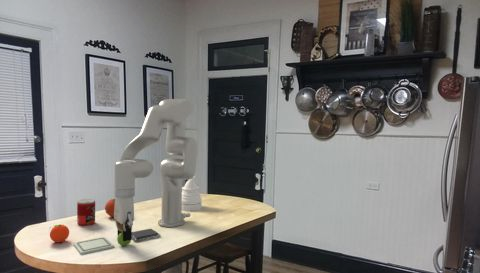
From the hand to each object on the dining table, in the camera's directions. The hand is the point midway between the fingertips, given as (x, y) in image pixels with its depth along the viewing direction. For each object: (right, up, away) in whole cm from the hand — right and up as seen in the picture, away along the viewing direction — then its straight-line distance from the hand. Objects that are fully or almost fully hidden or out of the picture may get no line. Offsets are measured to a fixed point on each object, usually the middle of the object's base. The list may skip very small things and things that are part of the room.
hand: (124, 237), depth 129 cm
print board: (-12, -3, -1) cm, 12 cm away
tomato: (-19, -1, +39) cm, 43 cm away
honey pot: (+17, -1, +59) cm, 61 cm away
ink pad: (+5, -3, +10) cm, 12 cm away
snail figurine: (-1, -3, 0) cm, 3 cm away
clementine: (-28, -3, +3) cm, 28 cm away
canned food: (-28, -2, +27) cm, 39 cm away
